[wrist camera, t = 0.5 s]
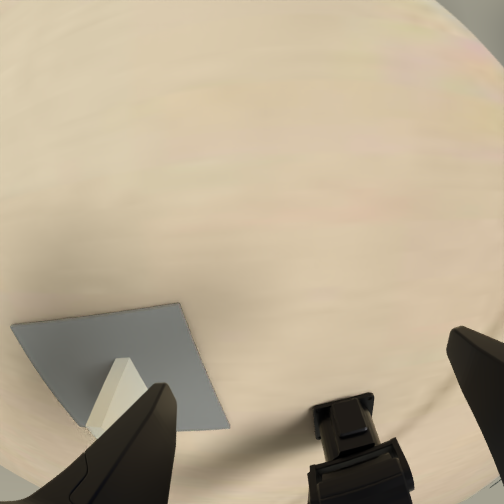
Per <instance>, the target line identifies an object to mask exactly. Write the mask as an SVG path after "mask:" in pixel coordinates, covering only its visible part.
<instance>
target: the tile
mask: <svg viewBox="0 0 504 504" xmlns="http://www.w3.org/2000/svg"><path fill="white" fill-rule="evenodd" d="M147 390H148V389H147V387H146V385H145V383H144V382H143V380H142V378H141V377H140V375H139V373H138V371H137V370H136V368H135V366H134V364H133V362H132V361H131V359H130V357H128V358H116V359H115V361H114V363H113V365H112V367H111V370H110V372H109V374H108V376H107V378H106V380H105V382H104V385H103V387H102V389H101V391H100V393H99V396H98V398H97V400H96V402H95V405H94V407H93V409H92V412H91V414H90V416H89V419H88V421H87V423H86V427H87V428H88V430H89V431H90V432H91V433H92V434H93V435H94V436H95V437H96V439H98V438H99V437H100V436H101V435H102V434H103V433H104V432H105V431H106V430H107V429H108V428H109V427H110V426H111V425H112V424H113V423H114V422H115V421H116V420H117V419H118V418H119V417H120V416H121V415H122V414H124V413H125V412H126V411H127V410H128V409H129V408H130V407H131V406H132V405H133V404H134V403H135V402H136V401H137V400H138V399H139V398H140V397H141V396H142V395H143V394H144V393H145V392H146V391H147Z"/></svg>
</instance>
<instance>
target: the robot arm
mask: <svg viewBox="0 0 504 504" xmlns="http://www.w3.org/2000/svg"><path fill="white" fill-rule="evenodd" d="M446 351H447V356H448V358H449V361H450V363H451V365H452V368H453V370H454V373H455V375H456V378H457V380H458V383H459V385H460V388H461V390H462V392H463V394H464V396H465V398H466V400H467V402H468V404H469V406H470V408H471V410H472V412H473V414H474V416H475V419H476V421H477V423H478V425H479V427H480V429H481V431H482V434H483V436H484V438H485V440H486V443H487V445H488V447H489V450H490V452H491V454H492V457H493V459H494V462H495V464H496V467H497V469H498V472H499V474H500V477H501V480H502V482H503V484H504V343H503V342H500V341H498V340H495V339H493V338H491V337H488V336H486V335H484V334H481V333H479V332H476V331H474V330H472V329H469V328H467V327H464V326H459V327H456V328H453V329H452V330H451V331H450V335H449V340H448V344H447V348H446ZM373 405H374V395H373V393H368V394H364V395H360V396H356V397H353V398H349V399H345V400H340V401H336V402H332V403H327V404H323V405H318V406H315V407H314V408H313V417H314V427H315V436H316V439H318V440H320V439H321V441H322V445H323V450H324V455H325V460H326V462H325V463H321V464H317V465H315V464H314V465H310V472H309V473H308V474H307V475H308V482H309V494H308V503H307V504H412V500H411V496H410V493H409V492H410V491H413V490H414V481H413V477H412V473H411V470H410V467H409V465H408V462H407V460H406V458H405V456H404V454H403V452H402V450H401V448H400V446H399V443H398V441H397V439H396V437H395V438H392V439H390V440H389V441H387V442H384V443H382V444H381V443H380V440H379V437H378V434H377V431H376V429H375V426H374V423H373V420H372V412H373ZM176 425H177V401H176V398H175V396H174V395H173V393H172V391H171V389H170V387H169V385H168V384H167V383H165V382H163V383H154V384H153V385H152V386H151V387H150V388H149V389H148V390H147V391H146V392H145V393H144V394H143V395H142V396H141V397H140V398H139V399H138V400H137V401H136V402H135V403H134V404H133V405H132V406H131V407H130V408H129V409H128V410H127V411H126V412H125V413H124V414H122V415H121V416H120V417H119V418H118V419H117V420H116V421H115V422H114V423H113V424H112V425H111V426H110V427H109V428H108V429H107V430H106V431H105V432H104V433H103V434H102V435H101V436H100V437H99V438H98V439H97V440H96V441H95V442H94V443H93V444H92V445H91V446H90V447H89V448H88V449H87V450H86V451H85V452H84V453H82V454H81V455H80V456H79V457H78V458H77V459H76V460H75V461H74V462H73V463H72V464H71V465H69V466H68V467H67V468H66V469H65V470H64V471H62V472H61V473H60V474H59V475H57V476H56V477H55V478H54V479H52V480H51V481H50V482H48V483H47V484H46V485H44V486H43V487H42V488H40V489H39V490H37V491H36V492H35V493H33V494H32V495H30V496H29V497H27V498H25V499H21V500H17V501H0V504H168V497H169V490H170V482H171V475H172V469H173V462H174V455H175V448H176Z"/></svg>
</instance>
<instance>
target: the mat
mask: <svg viewBox="0 0 504 504" xmlns="http://www.w3.org/2000/svg"><path fill="white" fill-rule="evenodd" d="M10 328H11V329H12V331H13V333H14V335H15V336H16V338H17V340H18V342H19V343H20V345H21V347H22V348H23V350H24V351H25V353H26V355H27V356H28V358H29V359H30V361H31V362H32V364H33V366H34V367H35V369H36V370H37V372H38V373H39V374H40V376H41V377H42V379H43V380H44V382H45V383H46V384H47V386H48V387H49V389H50V390H51V391H52V393H53V394H54V395H55V397H56V398H57V399H58V401H59V402H60V403H61V404H62V406H63V407H64V408H65V409H66V411H67V412H68V413H69V414H70V416H71V417H72V418H73V419H74V420H75V422H76V423H77V424H78V425H79V426H80V427H86V423H87V421H88V419H89V416H90V414H91V412H92V409H93V407H94V405H95V402H96V400H97V398H98V396H99V393H100V391H101V389H102V387H103V385H104V382H105V380H106V378H107V376H108V374H109V372H110V370H111V367H112V365H113V363H114V361H115V359H116V358H128V357H130V359H131V361H132V362H133V364H134V366H135V368H136V370H137V371H138V373H139V375H140V377H141V378H142V380H143V382H144V383H145V385H146V387H147V389H149V388H150V387H151V386H152V385H153V384H154V383H163V382H165V383H167V384H168V385H169V387H170V389H171V391H172V393H173V395H174V396H175V398H176V401H177V425H176V431H202V430H217V429H230V424H229V422H228V420H227V418H226V415H225V413H224V411H223V409H222V407H221V404H220V402H219V400H218V398H217V395H216V393H215V391H214V389H213V386H212V384H211V382H210V379H209V377H208V375H207V372H206V370H205V367H204V365H203V363H202V360H201V358H200V355H199V353H198V350H197V348H196V345H195V343H194V340H193V338H192V335H191V333H190V330H189V327H188V325H187V322H186V319H185V317H184V314H183V311H182V309H181V306H180V303H174V304H168V305H161V306H155V307H148V308H141V309H135V310H128V311H121V312H113V313H106V314H99V315H91V316H83V317H75V318H67V319H59V320H50V321H41V322H32V323H23V324H13V325H11V326H10Z"/></svg>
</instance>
